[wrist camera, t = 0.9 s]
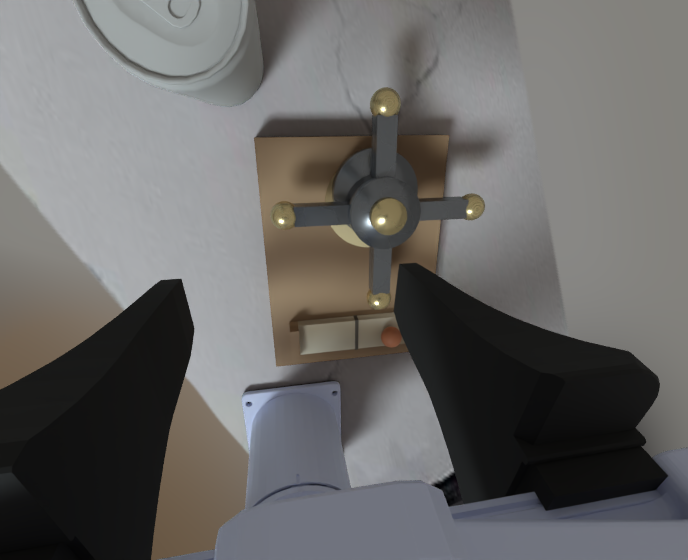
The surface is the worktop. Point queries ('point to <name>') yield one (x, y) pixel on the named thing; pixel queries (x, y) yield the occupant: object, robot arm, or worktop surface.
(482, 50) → the worktop surface
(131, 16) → the beverage can
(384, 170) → the capstan
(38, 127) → the worktop surface
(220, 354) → the worktop surface
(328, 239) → the valve wheel board
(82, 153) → the worktop surface
